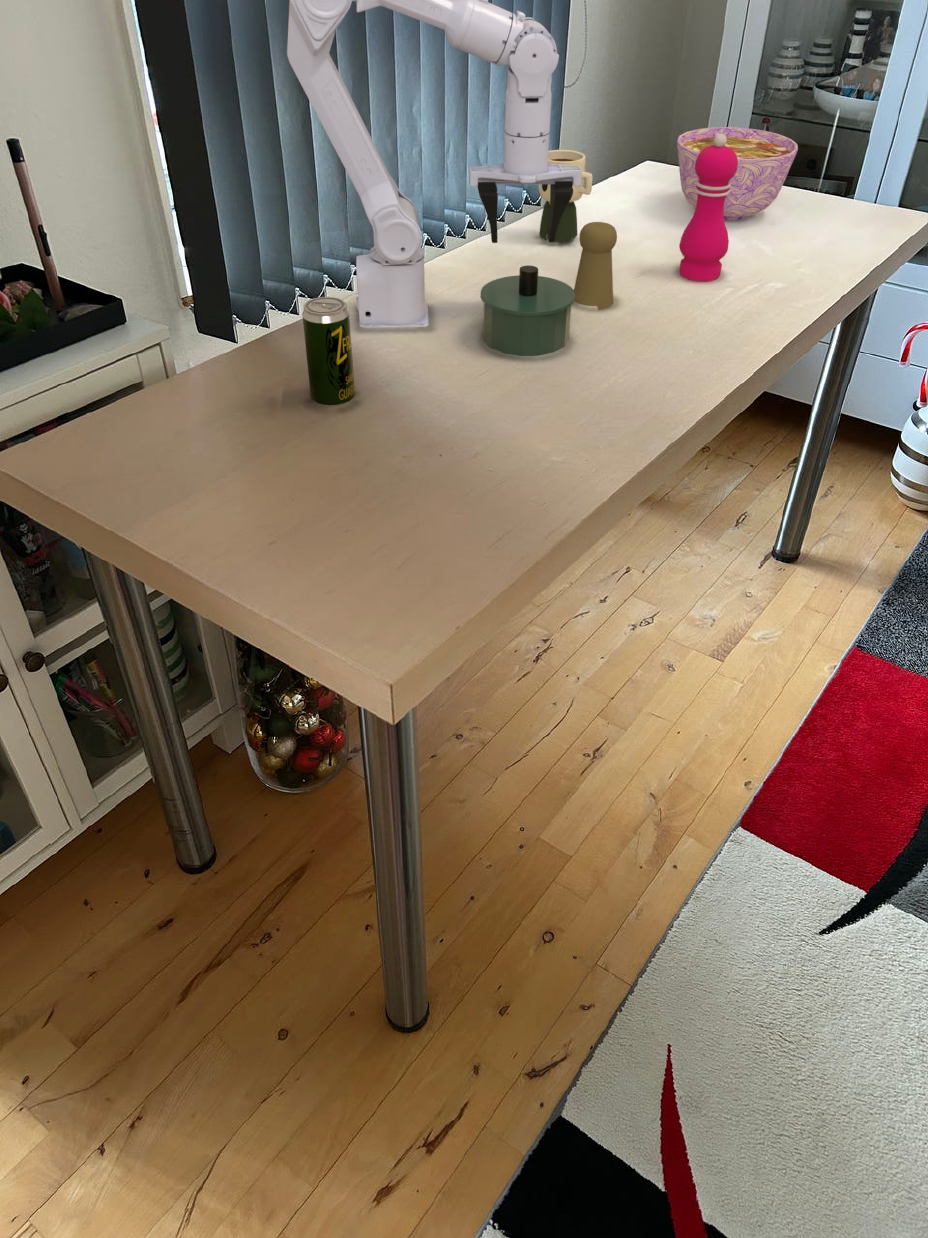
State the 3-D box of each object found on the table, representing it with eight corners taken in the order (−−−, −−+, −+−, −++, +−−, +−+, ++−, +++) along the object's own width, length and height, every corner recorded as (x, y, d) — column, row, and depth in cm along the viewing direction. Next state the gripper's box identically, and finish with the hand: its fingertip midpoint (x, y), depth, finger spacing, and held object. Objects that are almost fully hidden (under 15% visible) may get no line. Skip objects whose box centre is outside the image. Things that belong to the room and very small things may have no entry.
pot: (485, 360, 131) (486, 314, 127) (480, 324, 140) (481, 280, 136) (572, 358, 132) (576, 313, 128) (562, 322, 140) (565, 279, 136)
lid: (483, 321, 127) (483, 287, 124) (477, 283, 137) (478, 251, 134) (580, 319, 128) (583, 286, 125) (568, 282, 137) (570, 250, 134)
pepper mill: (670, 278, 153) (690, 137, 140) (681, 262, 158) (701, 124, 145) (718, 285, 151) (742, 143, 138) (727, 269, 156) (751, 130, 143)
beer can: (303, 407, 121) (293, 311, 113) (321, 387, 125) (313, 293, 117) (345, 413, 120) (337, 317, 112) (362, 393, 124) (355, 299, 116)
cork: (611, 311, 143) (619, 233, 136) (569, 307, 144) (575, 229, 137) (615, 295, 148) (622, 218, 141) (574, 291, 149) (580, 215, 142)
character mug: (518, 238, 166) (521, 154, 158) (541, 226, 171) (545, 144, 162) (575, 252, 161) (582, 166, 153) (597, 239, 166) (604, 155, 157)
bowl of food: (650, 199, 182) (658, 130, 175) (752, 191, 186) (764, 123, 178) (696, 236, 167) (707, 163, 160) (805, 227, 171) (821, 154, 163)
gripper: (471, 140, 124) (470, 251, 133) (588, 139, 124) (579, 249, 133) (468, 125, 129) (468, 232, 138) (580, 124, 130) (572, 231, 139)
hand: (522, 239), depth 136 cm, fingers open, 7 cm apart
